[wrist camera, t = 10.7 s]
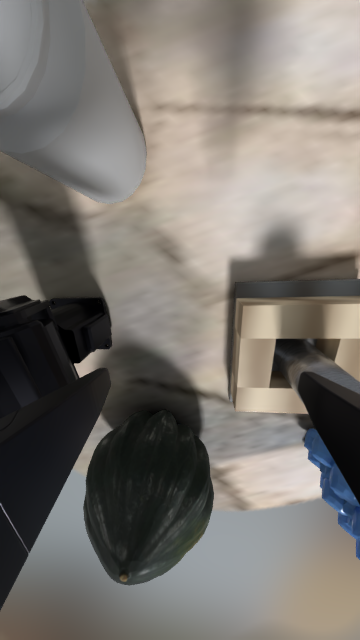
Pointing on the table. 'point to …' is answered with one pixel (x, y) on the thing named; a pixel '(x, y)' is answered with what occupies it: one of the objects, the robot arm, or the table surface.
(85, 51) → the can
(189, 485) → the squash
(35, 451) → the robot arm
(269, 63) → the table surface
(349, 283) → the socket
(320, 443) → the grapes
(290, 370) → the peg
